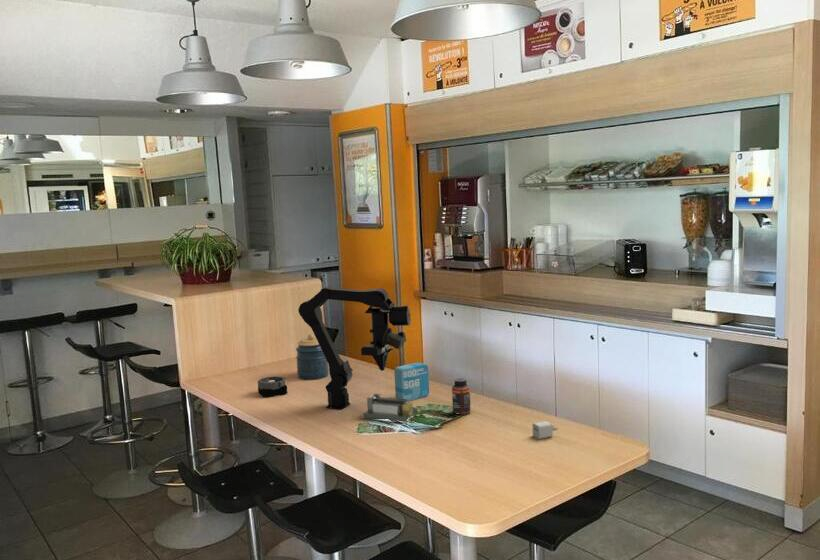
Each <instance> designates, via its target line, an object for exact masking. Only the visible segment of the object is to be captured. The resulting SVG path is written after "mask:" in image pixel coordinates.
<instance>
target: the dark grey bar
mask: <svg viewBox="0 0 820 560" xmlns="http://www.w3.org/2000/svg"><path fill="white" fill-rule="evenodd" d="M371 398H374V401H379V402H394V403H406V402H408V401H407V399H397V398H396V397H394V398H393V397H381V396H380V397H377V396H374V395H373V396H372V397H371Z"/></svg>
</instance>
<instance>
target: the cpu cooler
mask: <svg viewBox="0 0 820 560" xmlns="http://www.w3.org/2000/svg"><path fill="white" fill-rule="evenodd" d="M287 386H288V385H286V378H285V377H283V376H274V375H273V376H266V377H262V378H260V379H258V380H257V393H258V394H259V395H260V396H261V397H262V398H263V399H264V398H266V399H267V398H268V399H269V398H274V397H279V396H284V395H287V394H288V387H287Z"/></svg>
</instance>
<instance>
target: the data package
mask: <svg viewBox="0 0 820 560" xmlns="http://www.w3.org/2000/svg"><path fill="white" fill-rule="evenodd" d="M429 372H430V371H429V366H428V364H426V363H424V362H422V363H421V362H414V363H409V364H404V365H399V366H396V367H395V369H394V391H395V393H394V395H395V398H397V399H407V402H410V401H414V400H418V399H422V398H426V397H428V396H429V395H430V380H429V379H430V374H429Z"/></svg>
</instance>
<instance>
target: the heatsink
mask: <svg viewBox="0 0 820 560" xmlns="http://www.w3.org/2000/svg"><path fill="white" fill-rule="evenodd" d="M373 396H377V397H381V393H373ZM366 405H367V406H366V407H367V410H366V411H364V412H363V414H362V415H363V418H362V419H363V420H367V421H368V420H369V421H373V420H372V419H389V420H399V421H406V420H407V419H408V418H410V417H411V416H413V415H414V414H415V413H417V414H418V408H415V407H414V406H413V405H414V404H413V402H410V401H407V402H406V403H394V402H379V401H374V398H372V397H370V396H369V397H367V398H366Z"/></svg>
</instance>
